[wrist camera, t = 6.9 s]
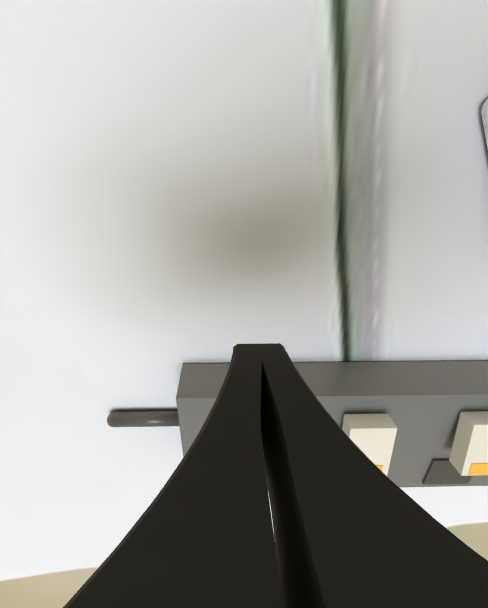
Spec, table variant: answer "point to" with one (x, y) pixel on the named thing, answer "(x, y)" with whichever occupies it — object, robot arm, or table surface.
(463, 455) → the rocker
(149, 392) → the table surface
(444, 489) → the table surface
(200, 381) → the power strip
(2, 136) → the table surface
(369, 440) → the rocker
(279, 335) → the table surface
